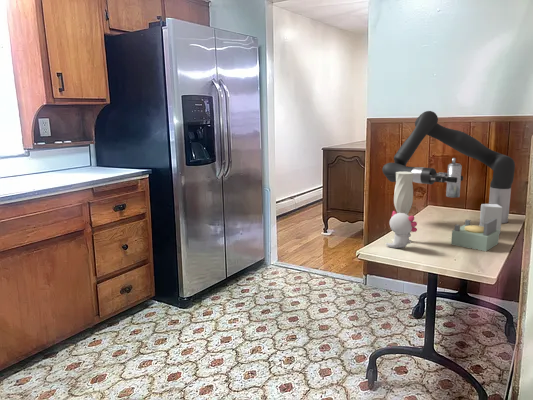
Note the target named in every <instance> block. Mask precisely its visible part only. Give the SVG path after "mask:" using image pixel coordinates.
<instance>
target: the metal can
mask: <svg viewBox="0 0 533 400" xmlns="http://www.w3.org/2000/svg"><path fill="white" fill-rule="evenodd" d="M456 160H457V158H456V157H452V159H451V163H449V164H447V172H446V173H447V176H448V177H457V182H456V183H454V182H446V189H445V192H446V193H445V197H447V198H460V195H461V182H462V181H461V176H462V165H461V163H457V162H456Z"/></svg>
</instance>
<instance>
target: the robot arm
mask: <svg viewBox="0 0 533 400" xmlns="http://www.w3.org/2000/svg"><path fill="white" fill-rule="evenodd" d="M438 122H439V117H438V115H437V113H435V112H434V111H433V110H426V111H424V112H422V113H421V114H420V115H419V116H418V117H416V119H415V121H414V125H415V128H414V129H413V131H412V132H411V133H410V134H409V136H408V137H407V138H406V140H405V141H404V142H403V143H402V144H401V146H400V147H399V149H398V150H397V151H396V153H395V154H394V156H393V161H394V162H388V163H385V164H384V165H383V167H382V174H383V175H384V176H385V177H386V179H387V180H388V181H389V182H391V183H396V172H413V181H412V183H416V184H423V185H434V184H435V183H443V184H444V183H447V182H454V183H456V182H457V177H448V176H447V173H448V172H440V171H439V172H437V170H436V169H435V168H433V167H422V166H421V167H420V166H417V167H415V166H407V164H408V162H410V159H411V158H412V157H413V155H414V154H415V152H416V151H417V149H418V147H419V146H420V144H421V143H422V141H424V138H425V137H427V136H429V137H430V138H433V139H435V140H437V141H440V142H442V143H443V144H445V145H446V146H448V147H450V148H451V149H453V150H455V151H457V152H459V153H460V154H462V155H465V156H467V157H469V158H472V159H474V160H477V161H478V162H481V163H483V164H484V165H485V166H487V167H488V168H489V169H491V170H492V171H493V172H492V173H493V174H492V180H491V181H490V186H489V187H490V188H489V199H488V204H498V205H499V206H501V207H502V218H501V224H506V223H508V222H509V215H510V204H511V196H512V195H511V192H512V185H513V183H514V176H515V170H516V169H515V168H516V165H515V164H516V163H515V160H514V159H513V158H512V157H510V156H508V155H506V154H503V153H500V152H498V151H494V150H493V149H491V148H489V147H487V146H486V145H484V144H483V143H482V142H481V141H480V140H478V139H476V138H475V137H473V136H472V135H469V134H468V133H466V132H464V131H462V130H457V129H454V128H453V129H452V128H448V127H445V126H442V125H441V124H440V123H438ZM462 181H464V176H463V175H461V182H462Z"/></svg>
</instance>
